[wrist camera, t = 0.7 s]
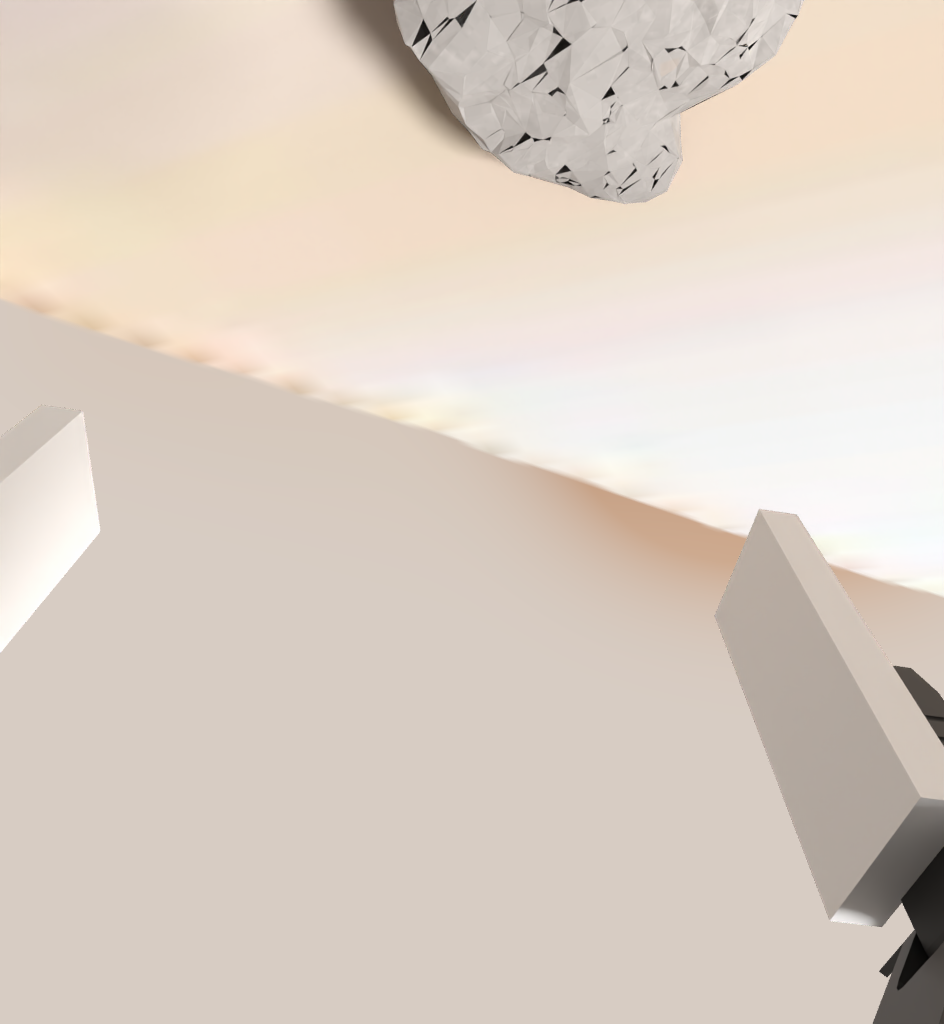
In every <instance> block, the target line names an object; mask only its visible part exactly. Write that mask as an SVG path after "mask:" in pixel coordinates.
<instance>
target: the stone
mask: <svg viewBox="0 0 944 1024" xmlns="http://www.w3.org/2000/svg"><path fill="white" fill-rule="evenodd" d="M803 1H804V0H394V9H395V15H396V21H397V24H398V27H399V30H400V32H401V35H402V38H403V40H404V43H405V45H407V46H409V47H410V48H411V50H412V51H413V52H414V54H415V55H416V57H417V58H418V59H419V61H420V62H421V63H422V64H423V66H424V67H425V68H426V69H427V70H428V72H429V73H430V74H431V75H432V77H433V79H434V81H435V83H436V85H437V86H438V88H439V90H440V92H441V94H442V96H443V98H444V99H445V101H446V103H447V105H448V107H449V109H450V110H451V112H452V114H453V115H454V116H455V117H456V118H457V119H458V120H459V122H460V123H461V124H462V125H463V126H464V127H465V128H466V129H467V130H468V131H469V132H470V134H471V135H472V136H473V137H474V139H475V140H476V141H477V143H478V144H479V146H480V147H481V148H482V149H483V150H486V151H488V152H491V153H492V154H493V155H494V156H496V157H497V158H498V159H499V160H500V161H501V162H502V163H504V164H505V165H506V166H507V167H508V168H509V169H510V170H512V171H513V172H514V173H518V174H522V175H526V176H530V177H534V178H537V179H541V180H544V181H548V182H551V183H555V184H558V185H562V186H565V187H569V188H571V189H573V190H575V191H577V192H579V193H582V194H584V195H586V196H588V197H590V198H595V199H602V200H608V201H614V202H619V203H624V204H627V203H640V202H647V201H649V200H651V199H653V198H655V197H657V196H659V195H660V194H662V193H664V192H666V191H667V190H668V188H669V186H670V184H671V182H672V180H673V178H674V176H675V174H676V173H677V171H678V169H679V167H680V165H681V163H682V161H683V158H682V147H681V127H680V113H681V112H683V111H685V110H687V109H689V108H691V107H693V106H695V105H697V104H699V103H701V102H703V101H705V100H707V99H709V98H711V97H713V96H715V95H717V94H719V93H721V92H723V91H725V90H727V89H729V88H731V87H733V86H735V85H737V84H738V83H740V82H741V81H742V80H744V79H745V78H746V77H748V76H749V75H750V74H752V73H753V72H754V71H755V70H757V69H758V68H759V67H761V66H762V65H763V64H765V63H766V62H767V61H769V60H770V59H771V58H772V57H774V56H775V55H776V53H777V51H778V50H779V48H780V46H781V44H782V42H783V40H784V38H785V37H786V35H787V33H788V31H789V29H790V27H791V26H792V24H793V22H794V20H795V18H796V17H797V16H798V14H799V12H800V9H801V6H802V4H803ZM465 10H466V11H465ZM464 11H465V12H464ZM463 13H464V14H463ZM462 14H463V15H462ZM461 15H462V17H461V18H460V16H461ZM745 45H747V46H745ZM539 73H540V74H539Z"/></svg>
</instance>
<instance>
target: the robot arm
mask: <svg viewBox="0 0 944 1024" xmlns="http://www.w3.org/2000/svg"><path fill="white" fill-rule="evenodd" d="M99 532H100V525H99V518H98V511H97V504H96V497H95V491H94V484H93V477H92V469H91V463H90V456H89V448H88V441H87V435H86V427H85V421H84V414H83V411H81V410H74V409H67V408H60V407H53V406H46V405H41V406H39V407H38V408H37V409H36V410H34V411H33V412H32V413H30V414H29V415H28V416H27V417H25V418H24V419H23V420H21V421H20V422H19V423H18V424H16V425H15V426H14V427H13V428H11V429H10V430H9V431H8V432H6V433H5V434H4V435H3V436H1V437H0V652H1V651H2V650H3V649H4V648H5V646H6V645H7V644H8V643H9V642H10V640H11V639H12V638H13V637H14V635H15V634H16V633H17V632H18V631H19V629H20V628H21V627H22V626H23V625H24V623H25V622H26V621H27V620H28V619H29V617H30V616H31V615H32V614H33V612H34V611H35V610H36V609H37V608H38V606H39V605H40V604H41V602H42V601H43V600H44V599H45V598H46V597H47V596H48V594H49V593H50V592H51V591H52V589H53V588H54V587H55V586H56V585H57V583H58V582H59V581H60V580H61V579H62V577H63V576H64V575H65V573H66V572H67V571H68V570H69V569H70V568H71V566H72V565H73V564H74V563H75V561H76V560H77V559H78V558H79V557H80V555H81V554H82V553H83V552H84V551H85V549H86V548H87V547H88V546H89V545H90V543H91V542H92V541H93V539H94V538H95V537H96V536H97V535H98V533H99ZM715 618H716V621H717V623H718V626H719V629H720V631H721V634H722V637H723V639H724V642H725V644H726V647H727V650H728V653H729V655H730V658H731V660H732V663H733V666H734V668H735V671H736V674H737V676H738V679H739V682H740V684H741V687H742V690H743V692H744V695H745V698H746V700H747V703H748V706H749V708H750V711H751V714H752V716H753V719H754V722H755V724H756V726H757V729H758V732H759V735H760V737H761V740H762V743H763V745H764V748H765V751H766V753H767V756H768V759H769V761H770V764H771V767H772V769H773V772H774V774H775V777H776V780H777V782H778V785H779V788H780V790H781V793H782V795H783V798H784V801H785V803H786V806H787V809H788V812H789V814H790V817H791V820H792V822H793V825H794V827H795V830H796V833H797V835H798V838H799V841H800V843H801V846H802V849H803V851H804V854H805V856H806V859H807V862H808V865H809V867H810V870H811V872H812V875H813V878H814V881H815V883H816V886H817V888H818V891H819V893H820V896H821V899H822V902H823V904H824V907H825V910H826V912H827V915H828V918H829V920H830V921H834V922H843V923H852V924H861V925H869V926H877V927H882V926H883V925H884V924H885V923H886V921H887V920H888V919H889V918H890V916H891V915H892V914H893V913H894V911H895V910H896V909H897V908H898V907H899V905H900V904H901V903H903V906H904V908H905V910H906V912H907V914H908V916H909V918H910V920H911V922H912V925H913V927H914V929H915V930H914V931H913V932H912V933H911V935H910V936H909V937H908V938H907V939H906V940H905V942H904V943H903V944H902V945H901V946H900V947H899V949H898V950H897V951H896V952H895V953H894V954H893V956H892V957H891V958H890V959H889V960H888V961H887V963H886V964H885V965H884V966H883V967H882V968H881V970H880V971H879V972H881V973H882V974H883V975H884V976H886V977H888V976H889V975H890V974H891V973H892V974H891V977H890V980H889V982H888V985H887V987H886V990H885V993H884V995H883V998H882V1000H881V1003H880V1006H879V1009H878V1011H877V1014H876V1016H875V1019H874V1022H873V1024H944V700H943V699H942V697H941V696H940V694H939V693H938V692H937V691H936V690H935V689H934V688H932V687H931V686H930V685H929V684H928V683H927V682H926V681H925V680H924V679H923V678H921V677H920V676H919V675H918V674H917V673H916V672H915V671H914V670H912V669H911V668H905V667H899V666H892V664H891V662H890V661H889V659H888V658H887V656H886V654H885V653H884V651H883V650H882V648H881V647H880V645H879V643H878V642H877V640H876V639H875V637H874V636H873V634H872V632H871V631H870V629H869V628H868V626H867V625H866V623H865V621H864V620H863V618H862V617H861V615H860V614H859V612H858V611H857V609H856V607H855V606H854V604H853V603H852V601H851V600H850V598H849V596H848V595H847V593H846V592H845V590H844V588H843V587H842V585H841V584H840V582H839V580H838V579H837V577H836V576H835V574H834V573H833V571H832V569H831V568H830V566H829V565H828V563H827V561H826V560H825V558H824V557H823V555H822V554H821V552H820V550H819V549H818V547H817V546H816V544H815V543H814V541H813V539H812V538H811V536H810V535H809V533H808V532H807V530H806V528H805V527H804V525H803V524H802V522H801V521H800V519H799V517H798V516H797V515H796V514H789V513H782V512H775V511H768V510H762V509H759V511H758V513H757V516H756V518H755V520H754V523H753V525H752V528H751V530H750V532H749V535H748V537H747V540H746V542H745V544H744V547H743V549H742V551H741V554H740V556H739V559H738V561H737V563H736V566H735V568H734V571H733V573H732V575H731V578H730V580H729V583H728V585H727V587H726V590H725V592H724V594H723V597H722V599H721V602H720V604H719V606H718V609H717V611H716V614H715Z"/></svg>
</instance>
